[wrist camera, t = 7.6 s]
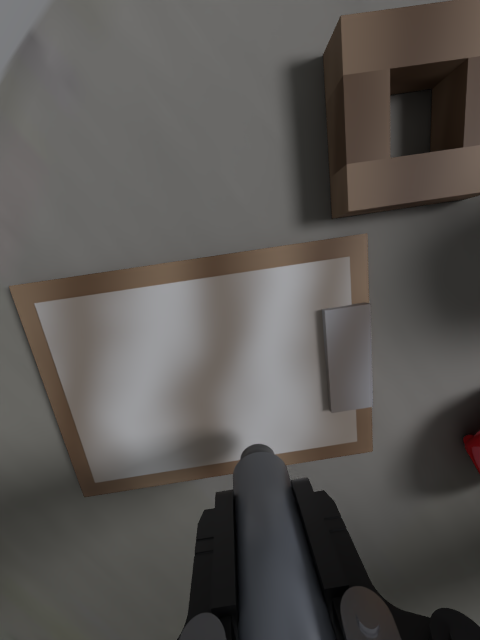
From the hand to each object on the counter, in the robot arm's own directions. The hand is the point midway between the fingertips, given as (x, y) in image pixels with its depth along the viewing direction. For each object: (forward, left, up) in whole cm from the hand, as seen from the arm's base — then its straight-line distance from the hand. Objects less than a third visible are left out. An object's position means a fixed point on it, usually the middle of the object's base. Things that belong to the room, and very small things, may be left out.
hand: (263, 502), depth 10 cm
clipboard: (+2, -4, -5) cm, 7 cm away
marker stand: (-9, -15, -5) cm, 18 cm away
